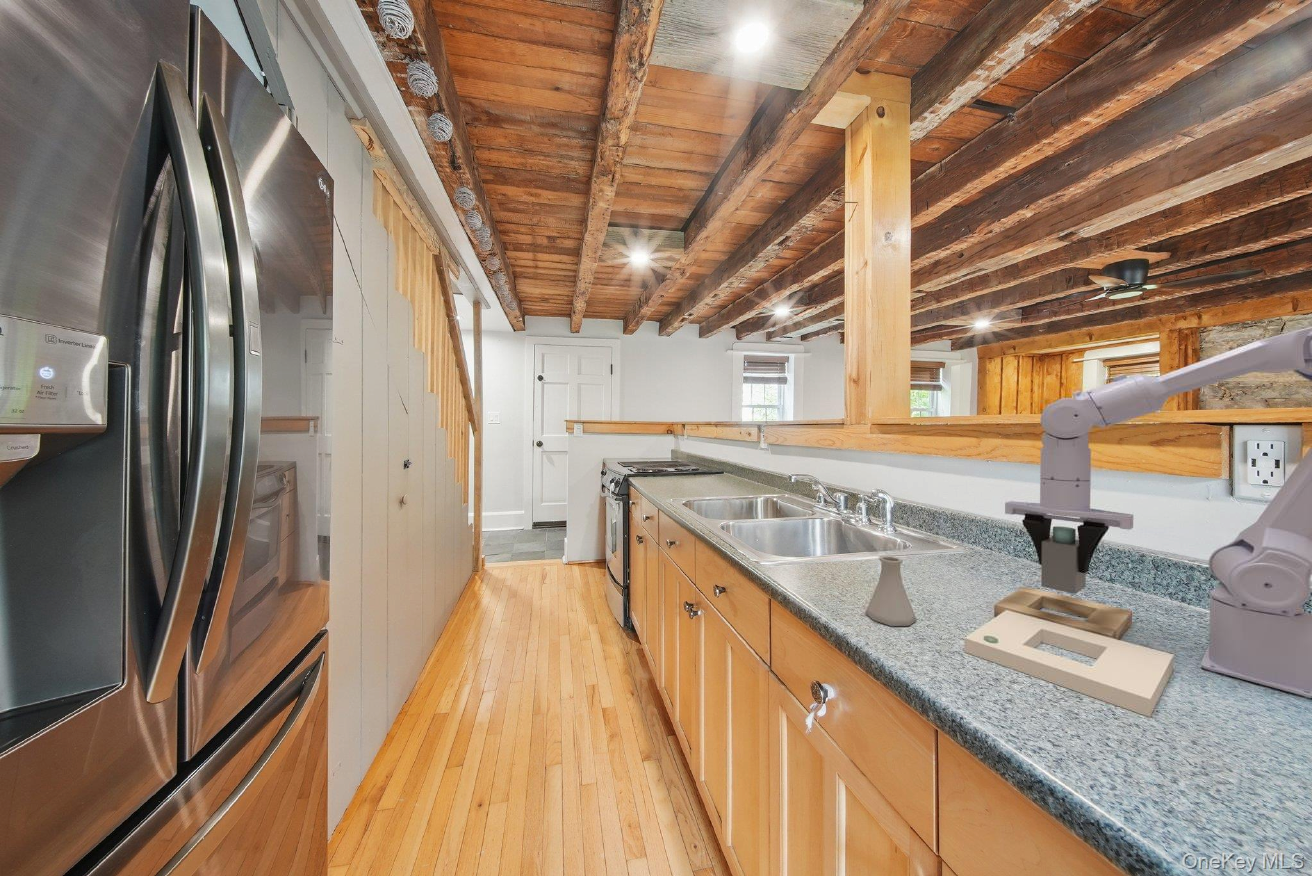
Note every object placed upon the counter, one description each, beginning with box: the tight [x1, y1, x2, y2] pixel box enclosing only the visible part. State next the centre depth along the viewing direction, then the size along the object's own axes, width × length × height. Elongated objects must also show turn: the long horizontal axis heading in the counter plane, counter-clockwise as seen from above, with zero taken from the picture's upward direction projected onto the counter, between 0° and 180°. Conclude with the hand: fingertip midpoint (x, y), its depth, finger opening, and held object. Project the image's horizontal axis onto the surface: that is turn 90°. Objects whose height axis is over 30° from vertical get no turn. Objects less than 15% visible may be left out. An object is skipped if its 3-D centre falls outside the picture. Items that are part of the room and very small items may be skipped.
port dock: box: [963, 610, 1175, 718], centre depth 62 cm, size 18×16×2 cm
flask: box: [864, 555, 918, 627], centre depth 76 cm, size 7×7×10 cm
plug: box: [1040, 525, 1087, 595], centre depth 71 cm, size 4×5×9 cm
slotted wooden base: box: [993, 585, 1133, 640], centre depth 75 cm, size 14×14×2 cm
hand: (1063, 567), depth 70 cm, fingers closed on plug, 4 cm apart
